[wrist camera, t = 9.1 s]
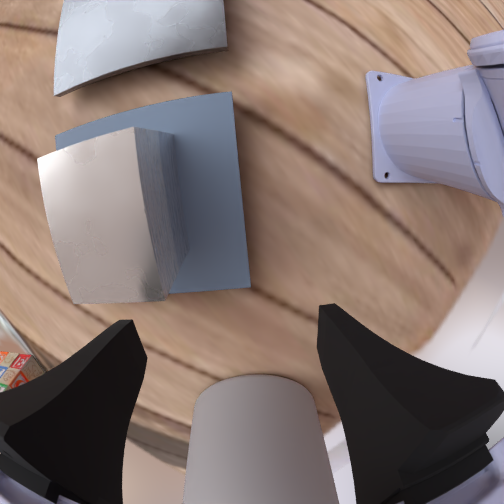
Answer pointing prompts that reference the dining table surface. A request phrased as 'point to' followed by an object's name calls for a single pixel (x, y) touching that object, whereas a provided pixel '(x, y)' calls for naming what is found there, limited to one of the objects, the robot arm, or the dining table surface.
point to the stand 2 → (196, 183)
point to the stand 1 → (132, 36)
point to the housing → (116, 216)
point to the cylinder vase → (257, 445)
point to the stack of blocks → (17, 370)
